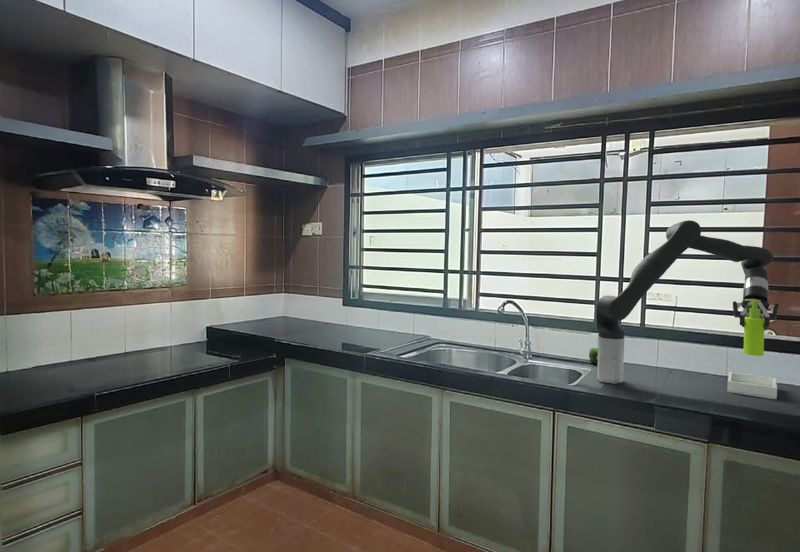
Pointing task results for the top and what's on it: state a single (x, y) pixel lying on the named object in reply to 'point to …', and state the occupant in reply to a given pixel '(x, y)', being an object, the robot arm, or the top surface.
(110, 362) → the top surface
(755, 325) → the soap dispenser
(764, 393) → the tray
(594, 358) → the vegetable
